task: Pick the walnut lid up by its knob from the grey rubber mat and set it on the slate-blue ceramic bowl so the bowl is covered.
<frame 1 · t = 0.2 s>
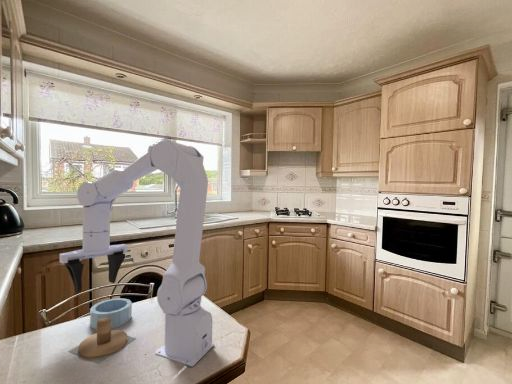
hand: (95, 286, 63), 10 cm above the counter, tool pointing down, fingers open, 7 cm apart
lid: (103, 344, 55), resting on mat
bowl: (111, 321, 65), on the counter
mat: (103, 346, 55), on the counter
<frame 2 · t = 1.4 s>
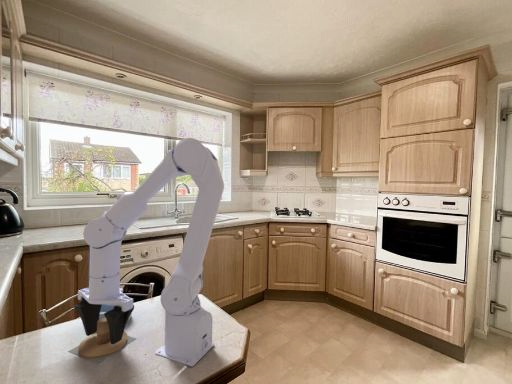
hand: (103, 337, 55), 2 cm above the counter, tool pointing down, fingers open, 7 cm apart
nothing on the counter moved.
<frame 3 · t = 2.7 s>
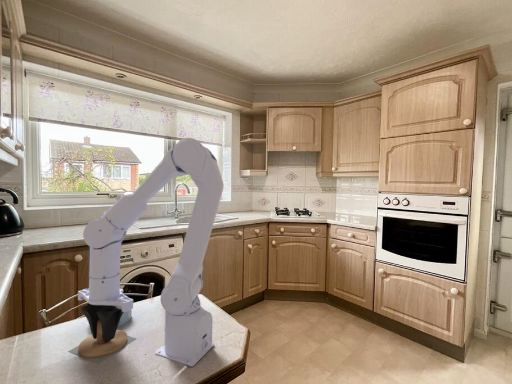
hand: (103, 338, 55), 2 cm above the counter, tool pointing down, fingers closed on lid, 3 cm apart
lid: (103, 344, 55), resting on mat, touching gripper
everything else where it was.
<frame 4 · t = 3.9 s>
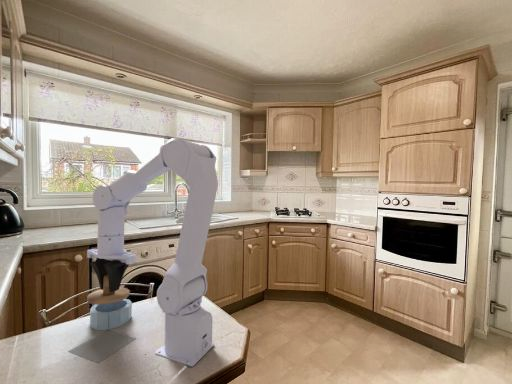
hand: (110, 289, 63), 9 cm above the counter, tool pointing down, fingers closed on lid, 3 cm apart
lid: (108, 296, 63), point 7 cm above the counter, touching gripper
everything else where it was.
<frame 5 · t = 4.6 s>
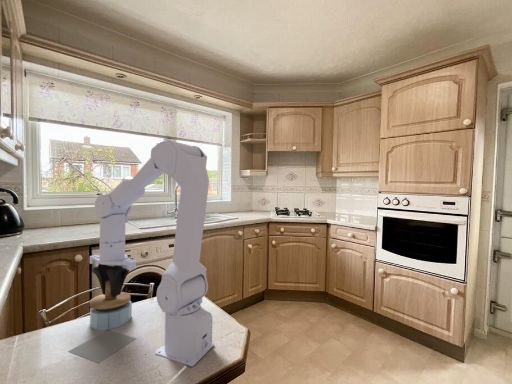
hand: (111, 294, 65), 7 cm above the counter, tool pointing down, fingers closed on lid, 3 cm apart
lid: (110, 301, 65), point 5 cm above the counter, touching gripper
everything else where it was.
when the fingers open (7 cm above the counter, at t = 5.1 s): lid drops 1 cm, resting on bowl.
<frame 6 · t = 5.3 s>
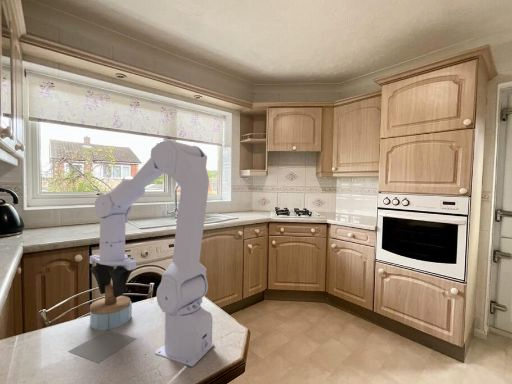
hand: (111, 294, 65), 7 cm above the counter, tool pointing down, fingers open, 4 cm apart
lid: (110, 306, 65), point 4 cm above the counter, touching bowl
everything else where it was.
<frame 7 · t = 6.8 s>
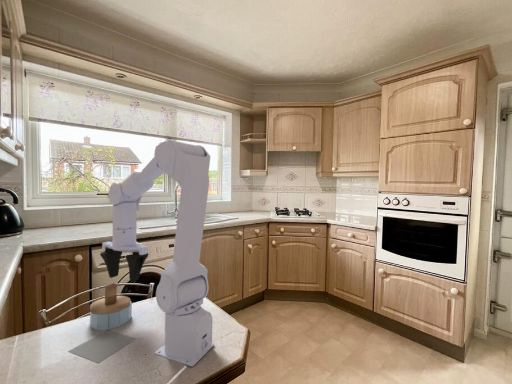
hand: (123, 278, 68), 10 cm above the counter, tool pointing down, fingers open, 7 cm apart
nothing on the counter moved.
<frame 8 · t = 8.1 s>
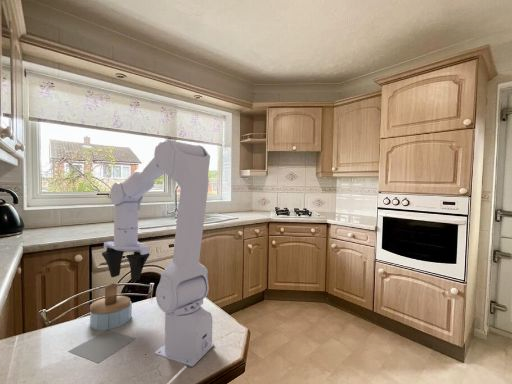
hand: (125, 278, 69), 10 cm above the counter, tool pointing down, fingers open, 7 cm apart
nothing on the counter moved.
at the end: lid 0.3 cm off-centre on the bowl, point 4.1 cm above the bowl's base; lid tilted 0°; the gripper is holding nothing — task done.
